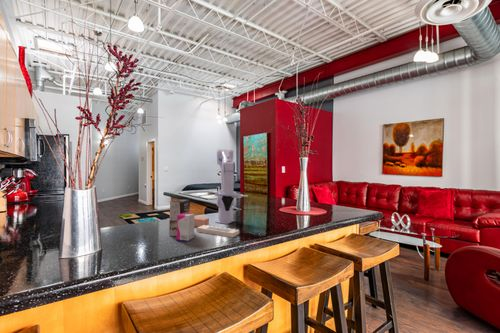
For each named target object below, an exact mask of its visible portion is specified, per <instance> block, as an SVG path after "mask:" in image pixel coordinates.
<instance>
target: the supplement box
mask: <svg viewBox="0 0 500 333" xmlns="http://www.w3.org/2000/svg"><path fill="white" fill-rule="evenodd" d="M194 216H195V213H191V212H190V213H182V214H179V215H177V236H176V241H177V242H185V243H189V242H190V241H192V240H194V239H195V226H194Z"/></svg>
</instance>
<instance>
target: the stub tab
mask: <svg viewBox="0 0 500 333" xmlns="http://www.w3.org/2000/svg"><path fill="white" fill-rule="evenodd" d="M209 220H210V218H208V217H202V216H195V215H194V228H197V227H200V226H202V225H210V221H209Z"/></svg>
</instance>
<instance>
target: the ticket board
mask: <svg viewBox="0 0 500 333" xmlns="http://www.w3.org/2000/svg"><path fill="white" fill-rule="evenodd" d="M196 232H198V233H203V234H208V235H215V236H222V237H227V238H234V237H236V236H238V235H240V229H237V228H230V227H223V226H216V225H210V224H209V225H202V226H200V227H196Z"/></svg>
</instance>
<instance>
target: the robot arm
mask: <svg viewBox="0 0 500 333" xmlns="http://www.w3.org/2000/svg"><path fill="white" fill-rule="evenodd" d="M216 163H217V165H218V166H220V181H221V182H220V184H221V185H220V186H221V188H220V190H219V191H216V192H214V196H215V197H216V206H217V207H218V216H217V217H218V219H217V220H216V221H214V222H215V223H218V224H225V225H227V224H230V223H232V222H235V219H234V208H233V206H234V203H235V199H242V193H234V183H235V182H234V181H235V172H236V163H235V161H234V150H233V149H219V148H218V149H217V150H216Z"/></svg>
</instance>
